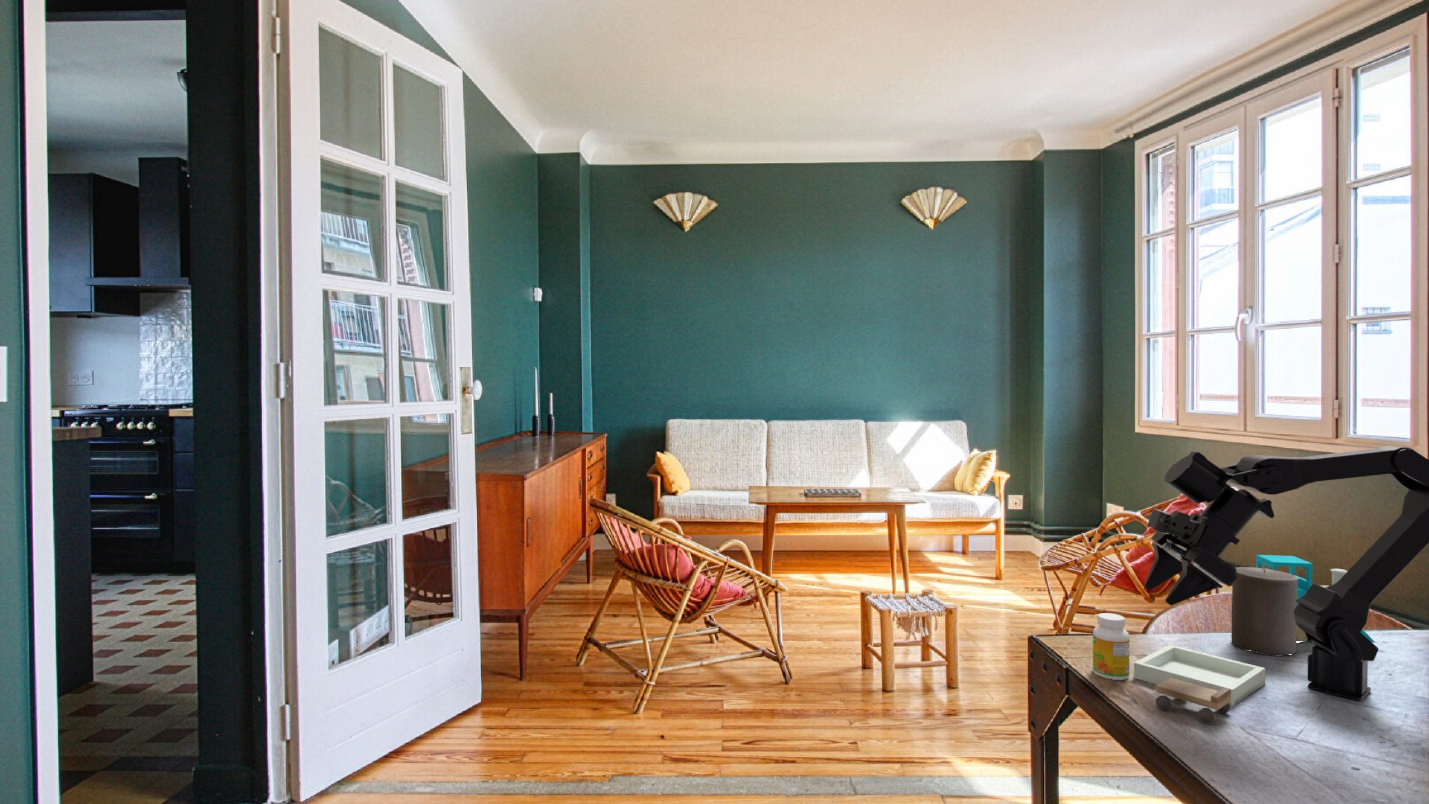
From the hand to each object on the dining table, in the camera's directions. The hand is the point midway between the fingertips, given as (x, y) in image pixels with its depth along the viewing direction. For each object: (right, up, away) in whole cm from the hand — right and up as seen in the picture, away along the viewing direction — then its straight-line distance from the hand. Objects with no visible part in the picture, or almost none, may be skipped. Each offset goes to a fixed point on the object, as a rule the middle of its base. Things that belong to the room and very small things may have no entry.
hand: (1156, 595), depth 123 cm
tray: (+6, -14, -1) cm, 15 cm away
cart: (-2, -14, -13) cm, 19 cm away
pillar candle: (+28, -14, +14) cm, 34 cm away
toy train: (+41, -13, +19) cm, 47 cm away
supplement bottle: (-7, -14, +2) cm, 15 cm away
